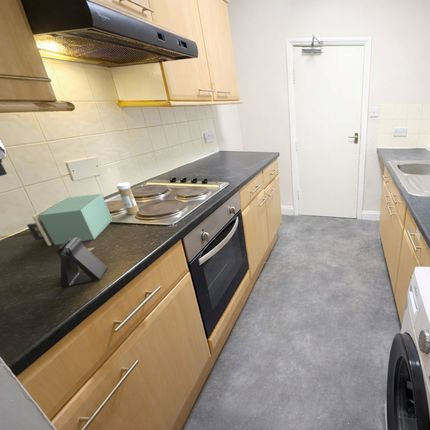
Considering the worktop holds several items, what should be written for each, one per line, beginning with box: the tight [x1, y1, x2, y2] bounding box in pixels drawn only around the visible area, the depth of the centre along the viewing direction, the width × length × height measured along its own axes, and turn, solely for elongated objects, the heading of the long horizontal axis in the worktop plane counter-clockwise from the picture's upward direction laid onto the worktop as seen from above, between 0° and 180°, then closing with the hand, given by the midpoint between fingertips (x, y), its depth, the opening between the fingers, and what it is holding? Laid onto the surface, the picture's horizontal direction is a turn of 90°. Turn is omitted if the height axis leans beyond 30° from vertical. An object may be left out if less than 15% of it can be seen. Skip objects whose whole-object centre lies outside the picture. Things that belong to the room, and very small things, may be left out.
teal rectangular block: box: [39, 193, 113, 246], centre depth 100 cm, size 12×17×12 cm
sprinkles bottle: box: [116, 182, 140, 215], centre depth 115 cm, size 5×5×14 cm
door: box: [26, 197, 66, 246], centre depth 98 cm, size 4×17×12 cm, turn 14°
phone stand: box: [56, 237, 108, 289], centre depth 74 cm, size 9×6×12 cm, turn 109°
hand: (0, 175), depth 93 cm, fingers closed
